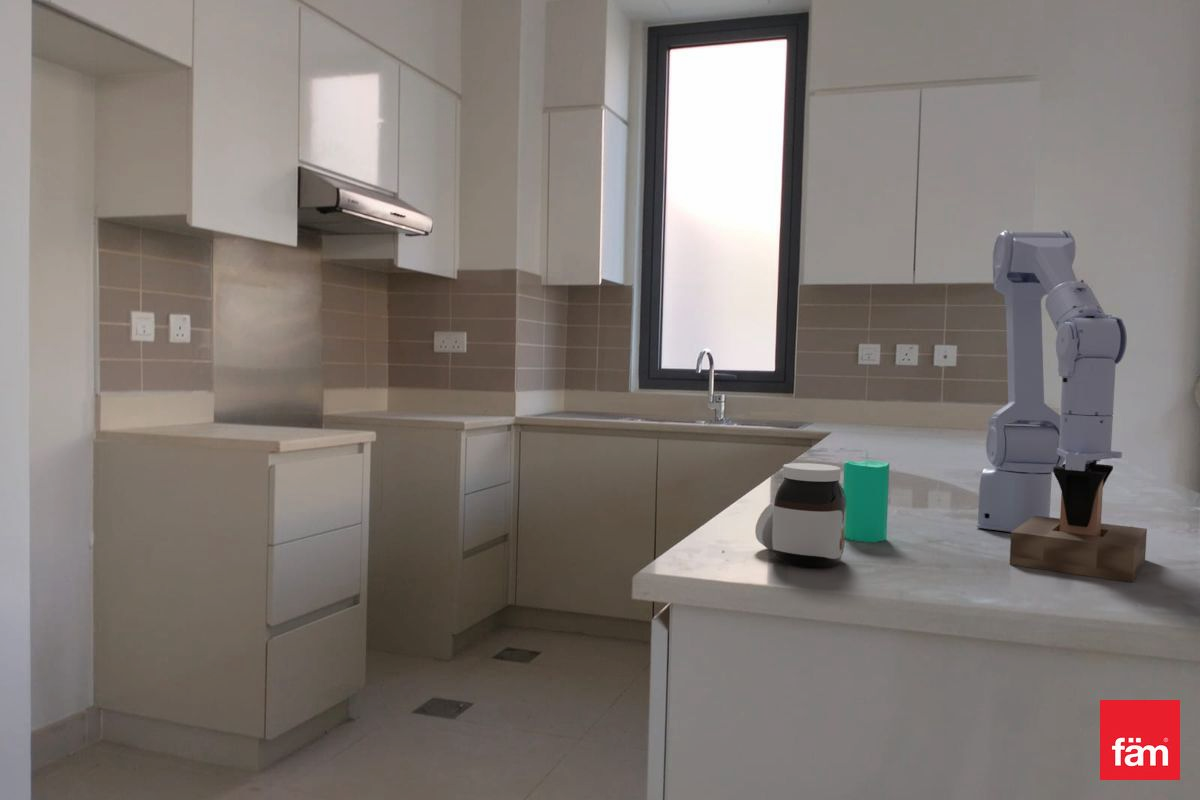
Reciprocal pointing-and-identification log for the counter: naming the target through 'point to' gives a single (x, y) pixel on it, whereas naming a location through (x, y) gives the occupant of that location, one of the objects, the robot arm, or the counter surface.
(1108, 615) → the counter surface
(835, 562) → the spread jar
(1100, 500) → the peg
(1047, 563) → the socket block
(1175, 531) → the counter surface
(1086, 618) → the counter surface
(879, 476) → the candle
